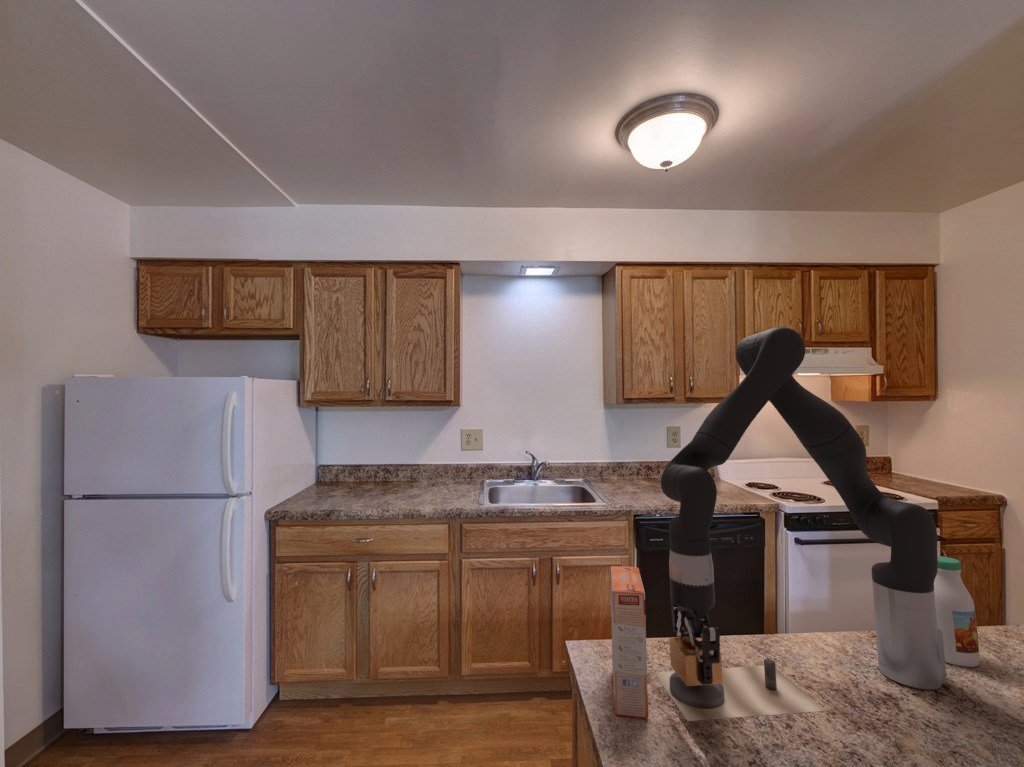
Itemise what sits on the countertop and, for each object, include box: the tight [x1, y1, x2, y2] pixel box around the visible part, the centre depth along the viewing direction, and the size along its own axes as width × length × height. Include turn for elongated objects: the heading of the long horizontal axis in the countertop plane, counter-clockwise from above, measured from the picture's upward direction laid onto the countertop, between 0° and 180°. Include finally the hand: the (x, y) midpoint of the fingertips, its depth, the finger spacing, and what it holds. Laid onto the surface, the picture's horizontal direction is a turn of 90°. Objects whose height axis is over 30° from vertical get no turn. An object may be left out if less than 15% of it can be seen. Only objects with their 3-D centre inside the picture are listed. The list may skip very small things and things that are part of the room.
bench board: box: [653, 658, 828, 722], centre depth 82 cm, size 24×14×7 cm, turn 95°
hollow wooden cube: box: [669, 636, 723, 686], centre depth 81 cm, size 6×6×5 cm
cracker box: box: [610, 565, 649, 719], centre depth 84 cm, size 14×6×21 cm, turn 168°
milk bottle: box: [934, 555, 981, 668], centre depth 94 cm, size 8×8×20 cm
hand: (695, 671), depth 81 cm, fingers closed on hollow wooden cube, 6 cm apart
